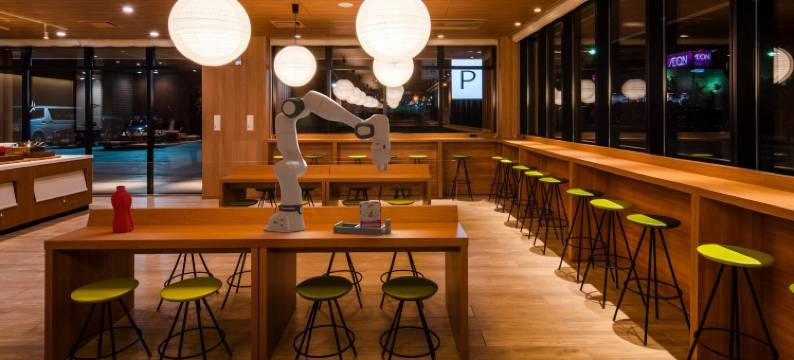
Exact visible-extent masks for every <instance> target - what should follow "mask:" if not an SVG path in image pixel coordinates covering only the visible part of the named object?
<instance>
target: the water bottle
mask: <svg viewBox="0 0 794 360" xmlns="http://www.w3.org/2000/svg"><path fill="white" fill-rule="evenodd" d="M115 189H116V191H114V193H112V194H111V196H110V203H111V204H110V205H111V207H112V209H113V217H112V218H113V219H112V231H113V232H114V233H128V232H132V231H134V229H135V223H134V219H133V217H132V214H131V210H132V209H133V197H132V194H131V193H130V192H129V191H127V190H126V186H125V185H117V186H116V187H115Z"/></svg>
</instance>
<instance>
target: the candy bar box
mask: <svg viewBox="0 0 794 360" xmlns="http://www.w3.org/2000/svg"><path fill="white" fill-rule="evenodd" d="M358 203H359V204H358V205H359V206H358V209H359V224H360V227H361V228H362V227H371V228H381V225H382V203H381V201H380V200H367V201H365V200H364V201H359V202H358Z"/></svg>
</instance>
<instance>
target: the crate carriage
mask: <svg viewBox="0 0 794 360" xmlns="http://www.w3.org/2000/svg"><path fill="white" fill-rule="evenodd" d="M384 221H385V222H384V224H381V228H371V227H362V228H367V229H382V234H384V233H385V234H391V233H392V219H391V218H387V219H385V220H384ZM358 224H359V225H357V226H355V228H361V227H360V223H358Z"/></svg>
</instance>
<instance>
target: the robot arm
mask: <svg viewBox="0 0 794 360" xmlns="http://www.w3.org/2000/svg"><path fill="white" fill-rule="evenodd" d="M280 107H281V112H279V113H278V114H276V116H275V118H274V132H275V139H276V146H277V150H278V151H279V152H280V154H281V157H282V158H283V159H280V160H279V161H277V162H276V163H275V164H274V166H273V173H274V175H275V178H277V180H278V183H279V187H280V195H281V199H280V200H281V202H280V204H279V205H277V209H278V211H276V212H275V213H274V214H273V215H271V217H269V218H268V223H267V225H266V226H265V227H263V230H264V231H267V232H268V231H270V232H277V233H279V232H280V233H290V232H300V231H304V230H306V225H305V219H304V204H303V195H302V193H303V191H302V188H301V186H300V184H299V181H298V180H299V179H298V178H300V177H302V176H303V175H304V174H305V173H306V172H307V170H308V164H307V162H306V161H305V160H304V158H303V156H302V153H301V150H300V147H299V142H298V136H297V127H296V123H297V122H298V121H301V120H304V119H306V118H308V117H309V116H310V114H311V113H314V114H315V115H317V116H318V117H320V118H322V119H325V120H327V121H332V122H340V123H344V124H346V125H348V126H350V127H352V128H353V129H354V130H353V134H354V135H355V138H357V139H359V140H361V141H368V140H369V141H371V140H372V143H371V146H370V151H371V157H372V159H371V160H372V164H373V165H376V168H377V173H378V174H382V173H383V172H387V171H388V166H389V163H390V162H391V160H392V159H391V156H392V155H391V150H390V149H391V139H390V123H389V118H388V116H386V115H385V114H377V113H376V114H375V113H374V114H373V115H371V117H369V118H367V119H363V118H360V117H359V116H357V115H356V114H353V113H351V112H349V111H348V110H347V109H345V108H344V107H343V106H341V105H340V104H339V103H338V102H336V101H335V100H334V99H332V98H330V97H329V96H327V95H325V94H323V93H321V92H318V91H315V90H309V91H308V92H307V93H306V94H305V95H304V97H303V98H302V97H289V98H287V99H285V100H284V101H283V102H282V103H281V106H280ZM382 165H383V168H382Z"/></svg>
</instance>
